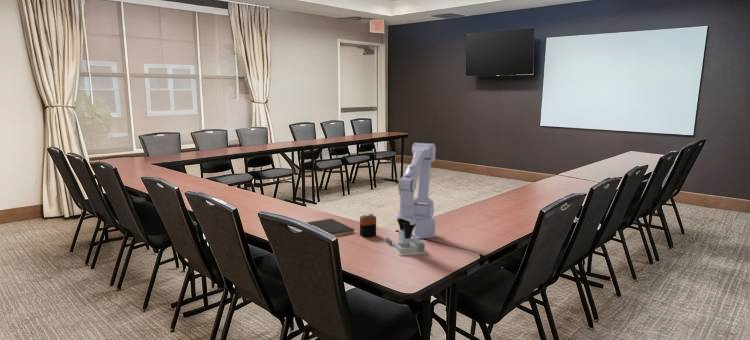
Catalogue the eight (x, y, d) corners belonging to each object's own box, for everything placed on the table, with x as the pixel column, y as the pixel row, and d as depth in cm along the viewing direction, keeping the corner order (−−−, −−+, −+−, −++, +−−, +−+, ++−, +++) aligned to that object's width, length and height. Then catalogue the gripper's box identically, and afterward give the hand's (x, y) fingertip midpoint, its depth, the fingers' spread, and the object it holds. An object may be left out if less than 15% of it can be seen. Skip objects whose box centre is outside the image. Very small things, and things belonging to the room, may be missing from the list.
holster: (402, 240, 205) (402, 236, 205) (406, 243, 201) (406, 239, 200) (386, 241, 203) (386, 237, 203) (389, 245, 198) (389, 241, 198)
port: (417, 245, 198) (417, 236, 198) (426, 253, 189) (426, 243, 188) (391, 248, 195) (391, 238, 194) (399, 255, 185) (400, 245, 185)
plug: (407, 239, 193) (407, 227, 192) (411, 242, 189) (411, 230, 188) (398, 240, 192) (399, 228, 191) (402, 243, 188) (402, 230, 187)
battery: (376, 235, 212) (376, 215, 210) (363, 237, 209) (363, 216, 207) (372, 233, 216) (372, 212, 214) (359, 234, 213) (359, 214, 211)
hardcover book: (331, 222, 234) (331, 218, 234) (354, 234, 216) (354, 229, 215) (303, 227, 225) (303, 222, 225) (325, 239, 207) (325, 234, 206)
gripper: (391, 202, 194) (391, 232, 196) (404, 210, 180) (403, 242, 182) (406, 201, 196) (406, 231, 198) (420, 209, 182) (419, 241, 185)
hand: (405, 236), depth 190 cm, fingers closed on plug, 4 cm apart
